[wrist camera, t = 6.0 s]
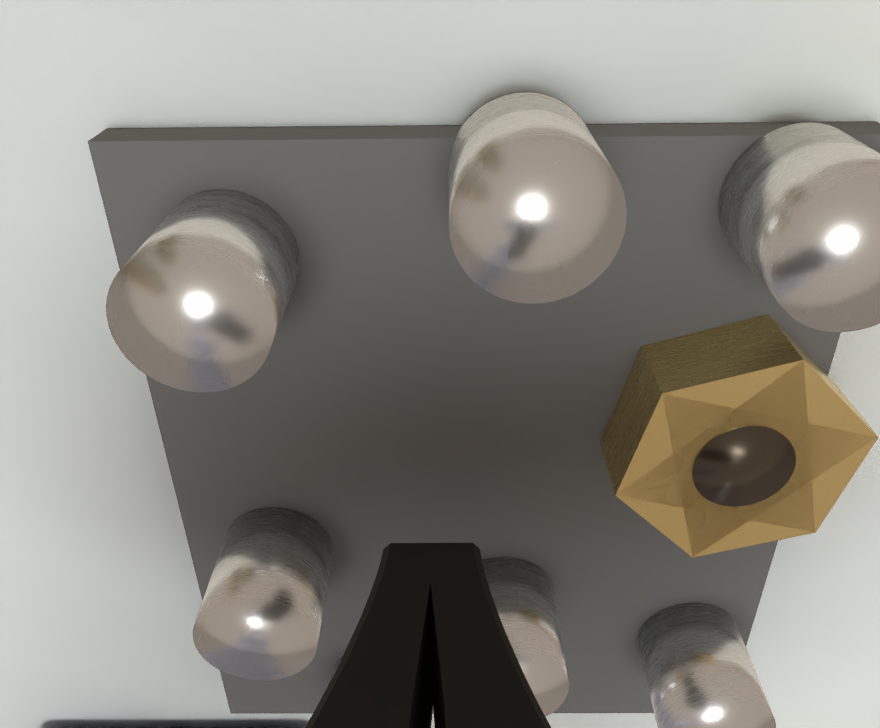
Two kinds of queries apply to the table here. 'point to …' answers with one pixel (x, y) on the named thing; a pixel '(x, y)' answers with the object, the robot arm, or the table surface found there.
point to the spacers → (515, 279)
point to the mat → (451, 378)
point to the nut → (732, 438)
